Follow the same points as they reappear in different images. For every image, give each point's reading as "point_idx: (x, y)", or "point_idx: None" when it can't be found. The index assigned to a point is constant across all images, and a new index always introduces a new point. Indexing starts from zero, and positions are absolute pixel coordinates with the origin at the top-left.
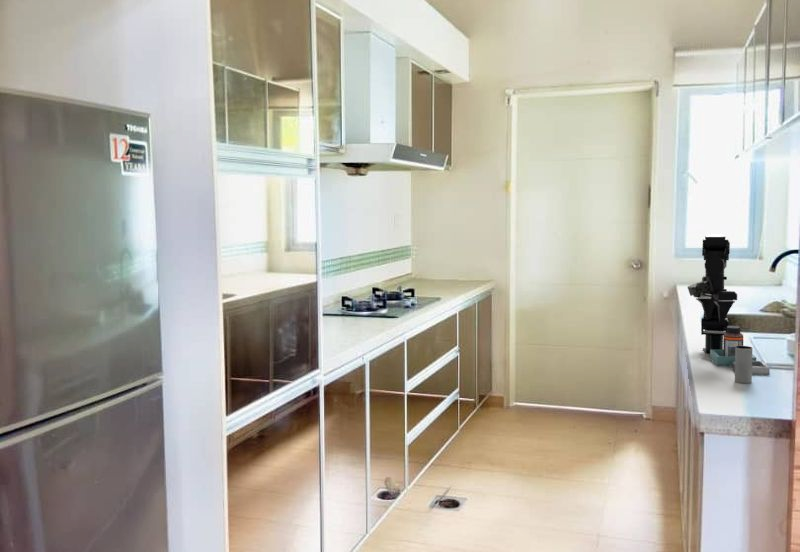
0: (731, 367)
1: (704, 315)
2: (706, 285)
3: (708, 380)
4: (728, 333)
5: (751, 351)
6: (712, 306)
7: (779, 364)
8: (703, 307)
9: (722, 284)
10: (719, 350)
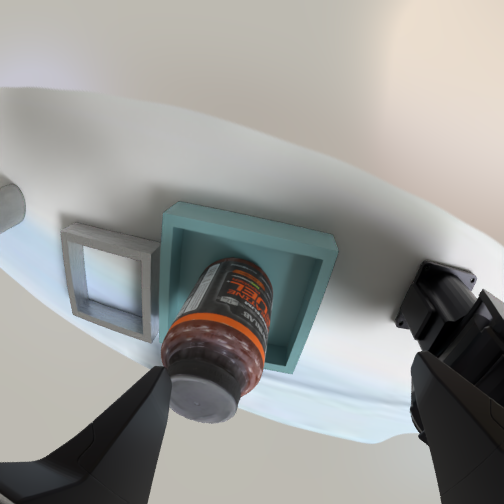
0: (142, 239)
1: None
2: None
3: (17, 116)
4: (185, 347)
5: None
6: (441, 475)
7: None
8: (492, 417)
9: None
10: (315, 284)
